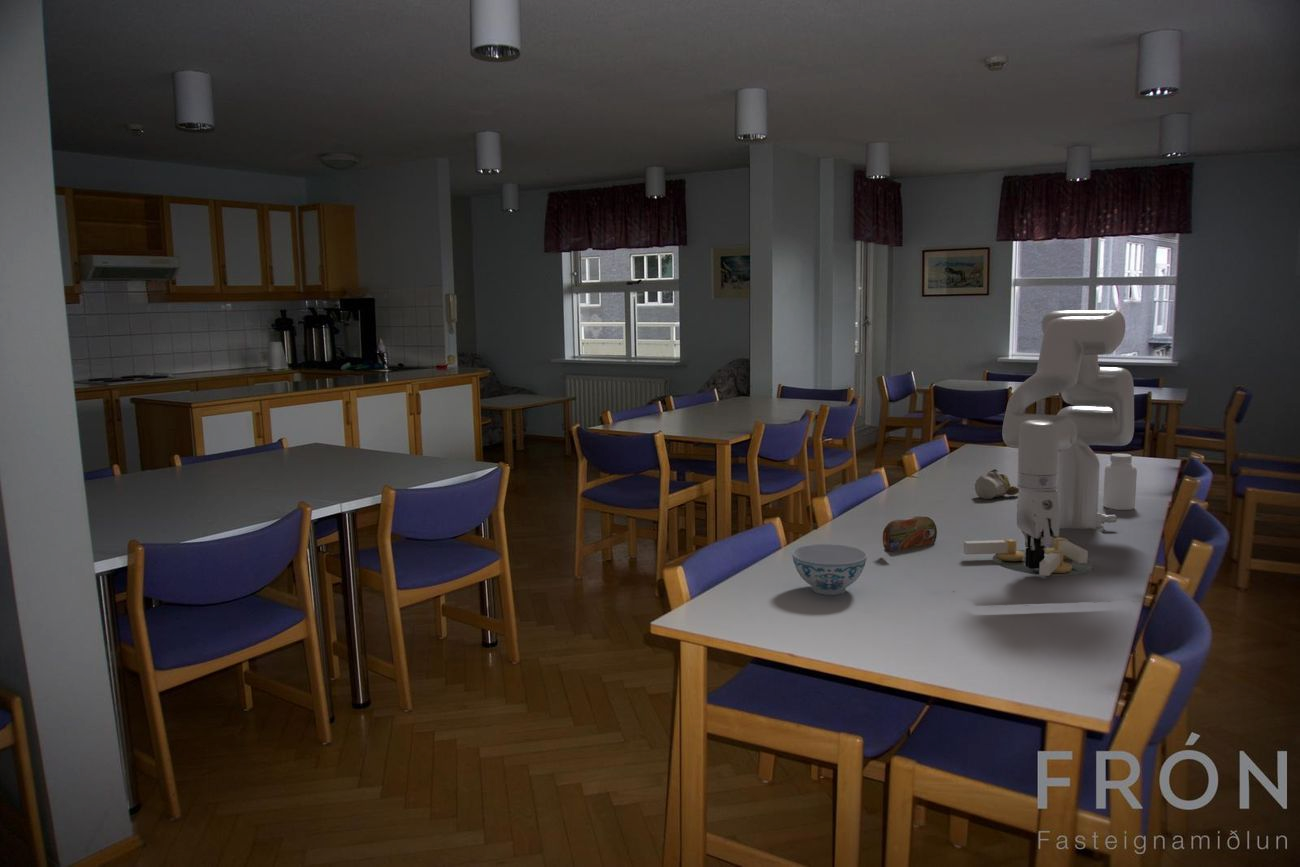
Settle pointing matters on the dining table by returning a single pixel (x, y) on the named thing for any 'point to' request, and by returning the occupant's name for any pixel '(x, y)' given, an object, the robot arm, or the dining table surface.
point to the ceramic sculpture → (994, 485)
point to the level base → (1021, 567)
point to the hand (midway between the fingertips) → (1034, 567)
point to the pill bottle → (1120, 483)
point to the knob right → (1069, 550)
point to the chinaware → (829, 566)
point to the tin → (909, 533)
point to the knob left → (995, 549)
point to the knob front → (1054, 564)
